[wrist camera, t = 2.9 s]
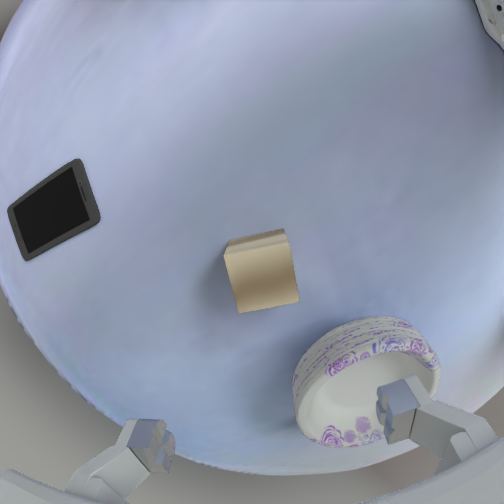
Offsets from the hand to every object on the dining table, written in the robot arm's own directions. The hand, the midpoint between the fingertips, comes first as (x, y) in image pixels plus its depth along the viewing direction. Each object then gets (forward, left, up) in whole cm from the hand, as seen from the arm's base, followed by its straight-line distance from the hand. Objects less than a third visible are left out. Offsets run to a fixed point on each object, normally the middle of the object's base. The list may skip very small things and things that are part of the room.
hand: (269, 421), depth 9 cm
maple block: (0, 0, -19) cm, 19 cm away
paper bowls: (+14, +8, -19) cm, 25 cm away
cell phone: (-10, -22, -19) cm, 31 cm away
